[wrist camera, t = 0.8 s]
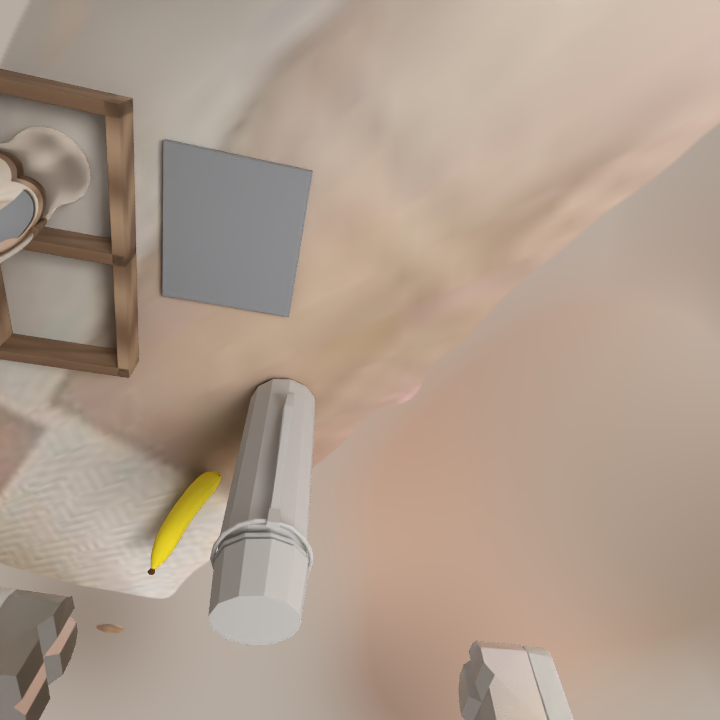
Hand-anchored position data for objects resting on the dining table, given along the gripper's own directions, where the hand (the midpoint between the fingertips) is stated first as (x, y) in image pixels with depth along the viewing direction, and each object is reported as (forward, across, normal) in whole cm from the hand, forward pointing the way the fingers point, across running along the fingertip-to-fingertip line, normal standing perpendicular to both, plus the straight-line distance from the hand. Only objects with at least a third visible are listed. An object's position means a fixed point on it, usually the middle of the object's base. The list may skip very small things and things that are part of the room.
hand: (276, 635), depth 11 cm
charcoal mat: (+39, +10, +3) cm, 41 cm away
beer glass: (+38, +24, -1) cm, 45 cm away
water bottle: (+42, +4, +20) cm, 47 cm away
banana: (+43, +14, +37) cm, 58 cm away
